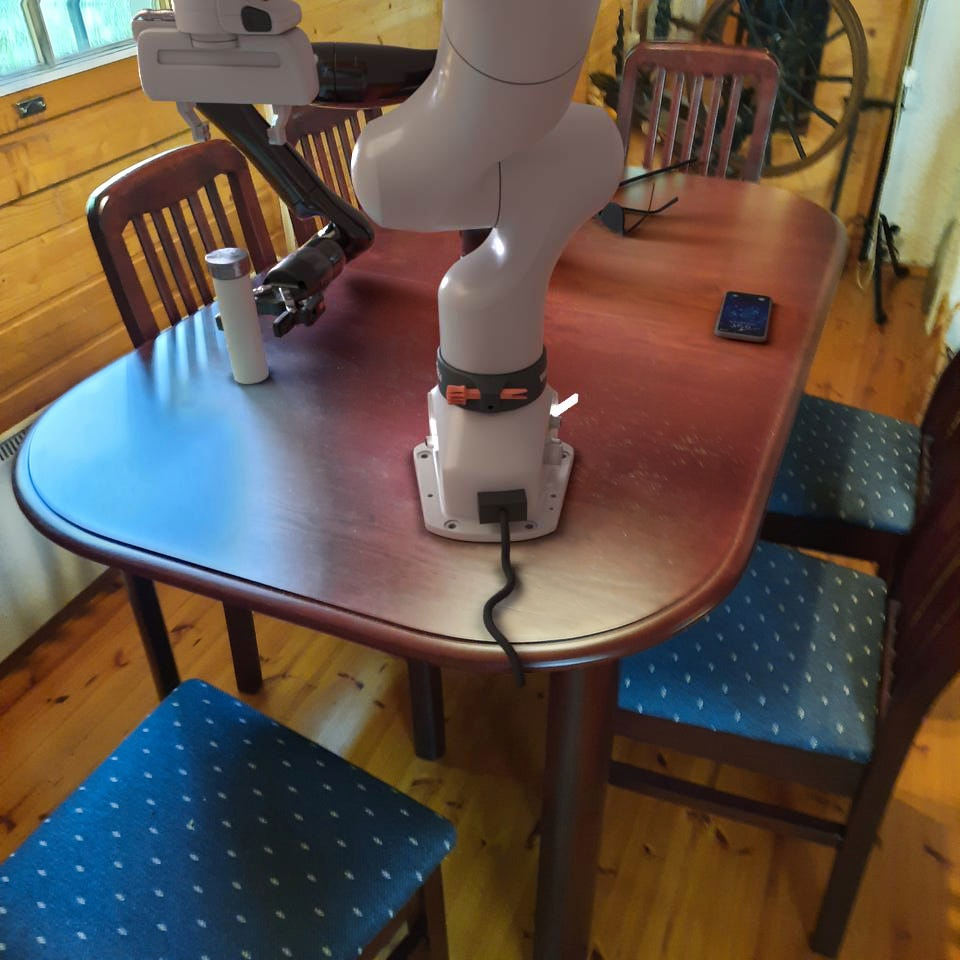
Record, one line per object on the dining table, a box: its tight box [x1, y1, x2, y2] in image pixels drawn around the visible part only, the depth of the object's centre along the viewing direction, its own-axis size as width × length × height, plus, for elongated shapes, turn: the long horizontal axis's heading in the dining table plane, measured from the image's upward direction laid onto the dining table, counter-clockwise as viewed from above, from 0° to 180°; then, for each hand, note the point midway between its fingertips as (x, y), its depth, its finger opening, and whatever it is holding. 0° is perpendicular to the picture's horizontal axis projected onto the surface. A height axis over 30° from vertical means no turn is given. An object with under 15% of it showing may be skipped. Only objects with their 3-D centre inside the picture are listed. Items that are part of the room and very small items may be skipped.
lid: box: [205, 247, 252, 279], centre depth 108 cm, size 5×5×2 cm
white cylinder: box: [211, 271, 270, 385], centre depth 113 cm, size 5×5×17 cm
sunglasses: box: [593, 181, 679, 236], centre depth 161 cm, size 17×14×5 cm
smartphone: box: [714, 290, 774, 343], centre depth 128 cm, size 7×1×15 cm
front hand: (240, 142), depth 100 cm, fingers open, 8 cm apart
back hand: (247, 328), depth 115 cm, fingers open, 8 cm apart
